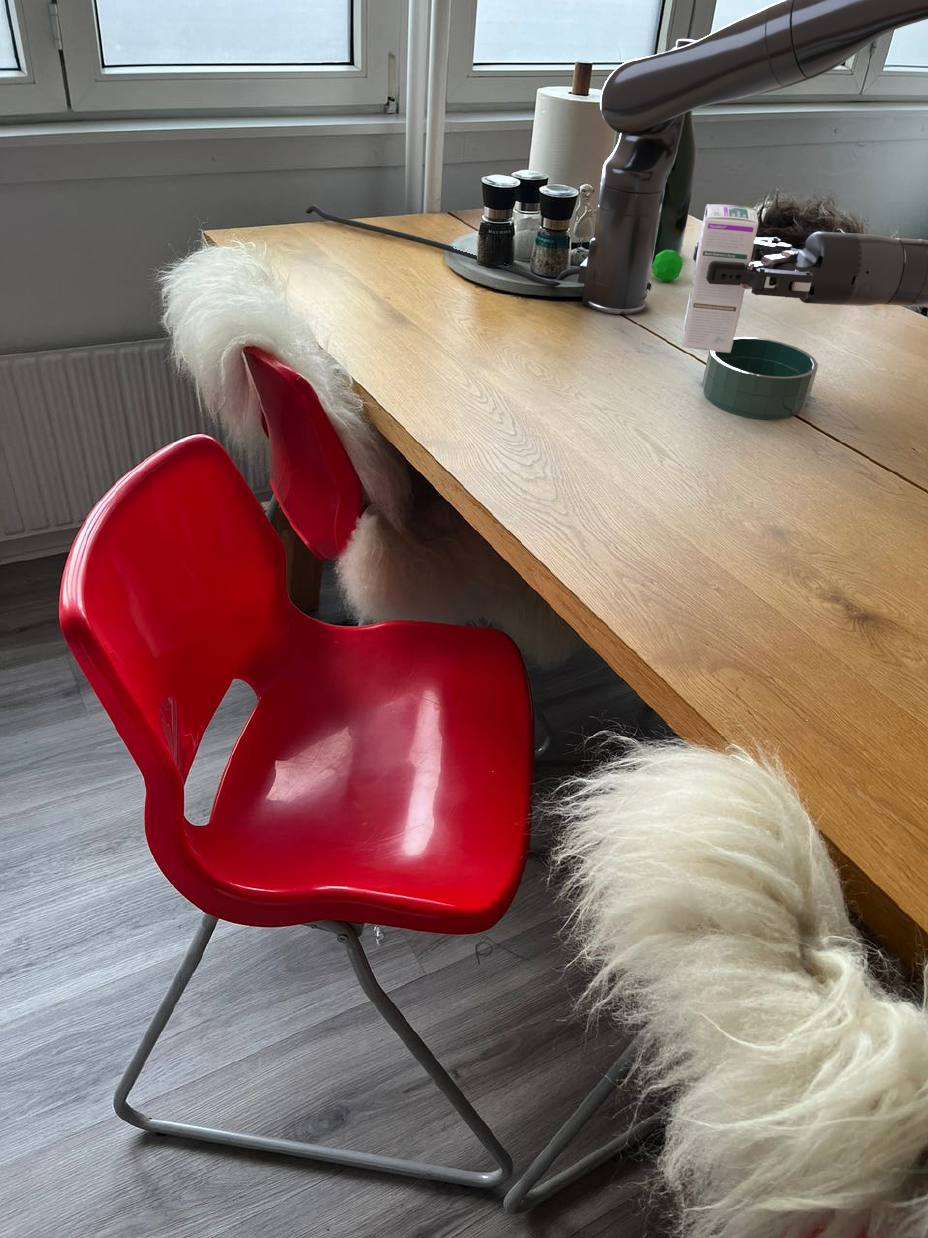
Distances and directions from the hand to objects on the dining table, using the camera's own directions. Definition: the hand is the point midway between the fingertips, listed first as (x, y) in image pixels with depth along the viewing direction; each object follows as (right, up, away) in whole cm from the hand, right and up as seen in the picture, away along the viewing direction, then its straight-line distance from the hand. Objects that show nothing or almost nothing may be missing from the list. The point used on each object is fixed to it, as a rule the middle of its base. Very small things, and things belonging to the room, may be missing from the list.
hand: (701, 262), depth 104 cm
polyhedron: (+7, +17, +53) cm, 56 cm away
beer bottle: (+7, +26, +65) cm, 70 cm away
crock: (+11, -11, +17) cm, 23 cm away
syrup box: (+2, -7, +6) cm, 9 cm away
